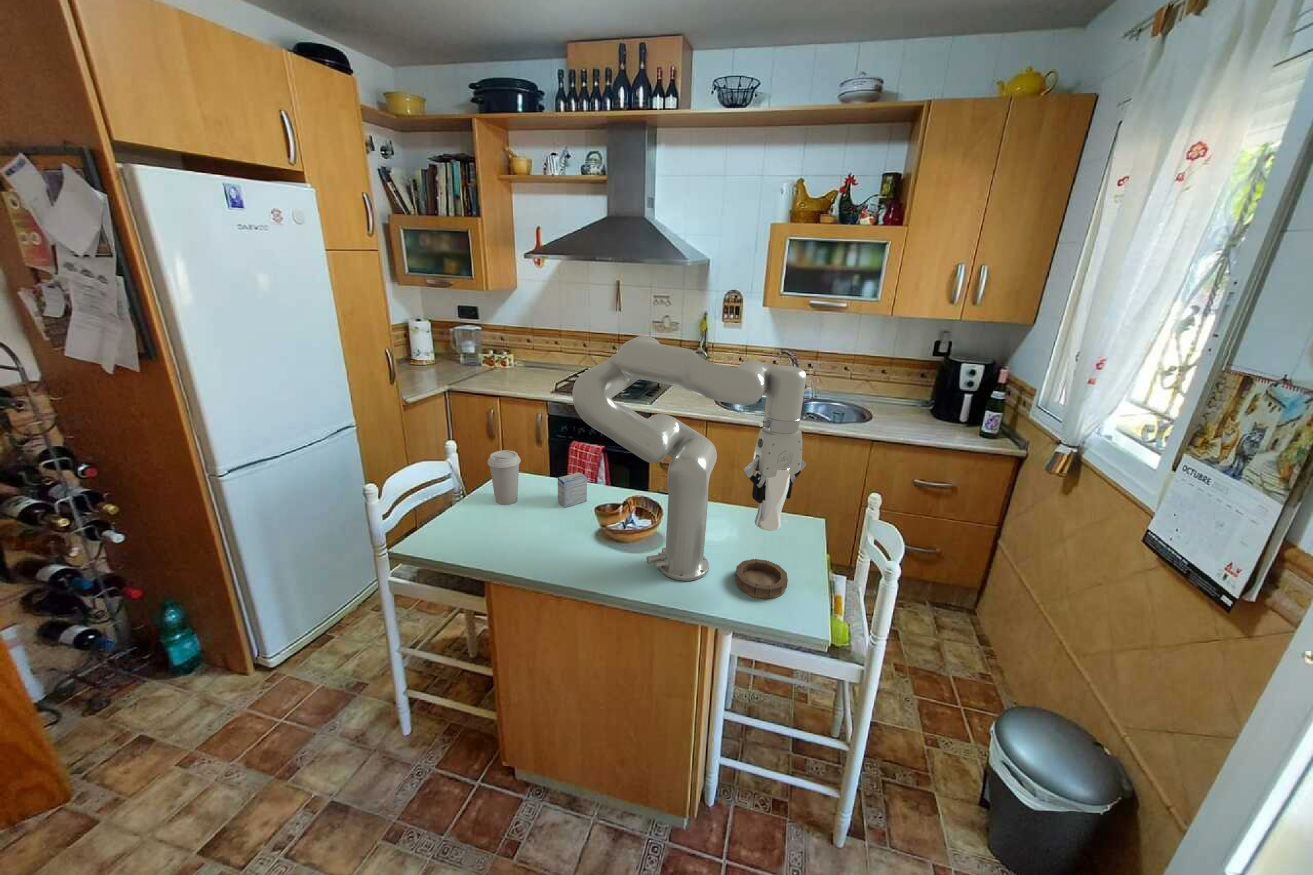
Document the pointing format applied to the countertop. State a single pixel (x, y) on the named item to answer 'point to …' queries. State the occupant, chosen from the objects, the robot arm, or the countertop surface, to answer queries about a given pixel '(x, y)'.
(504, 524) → the countertop surface
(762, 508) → the beer glass
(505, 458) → the coffee cup
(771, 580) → the round tray
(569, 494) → the medicine box
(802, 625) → the countertop surface
